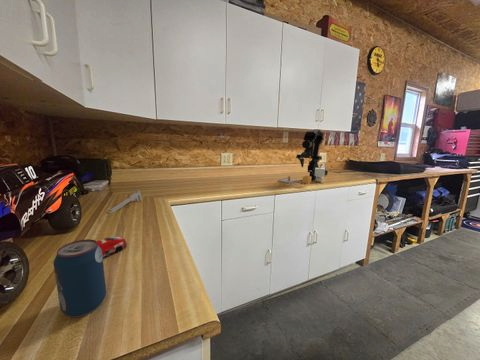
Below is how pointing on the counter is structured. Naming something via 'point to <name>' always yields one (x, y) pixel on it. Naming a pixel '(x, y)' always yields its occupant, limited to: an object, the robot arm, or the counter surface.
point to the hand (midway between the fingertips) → (307, 168)
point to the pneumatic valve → (319, 173)
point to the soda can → (80, 277)
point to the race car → (111, 245)
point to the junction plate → (288, 180)
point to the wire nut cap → (306, 179)
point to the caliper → (134, 196)
